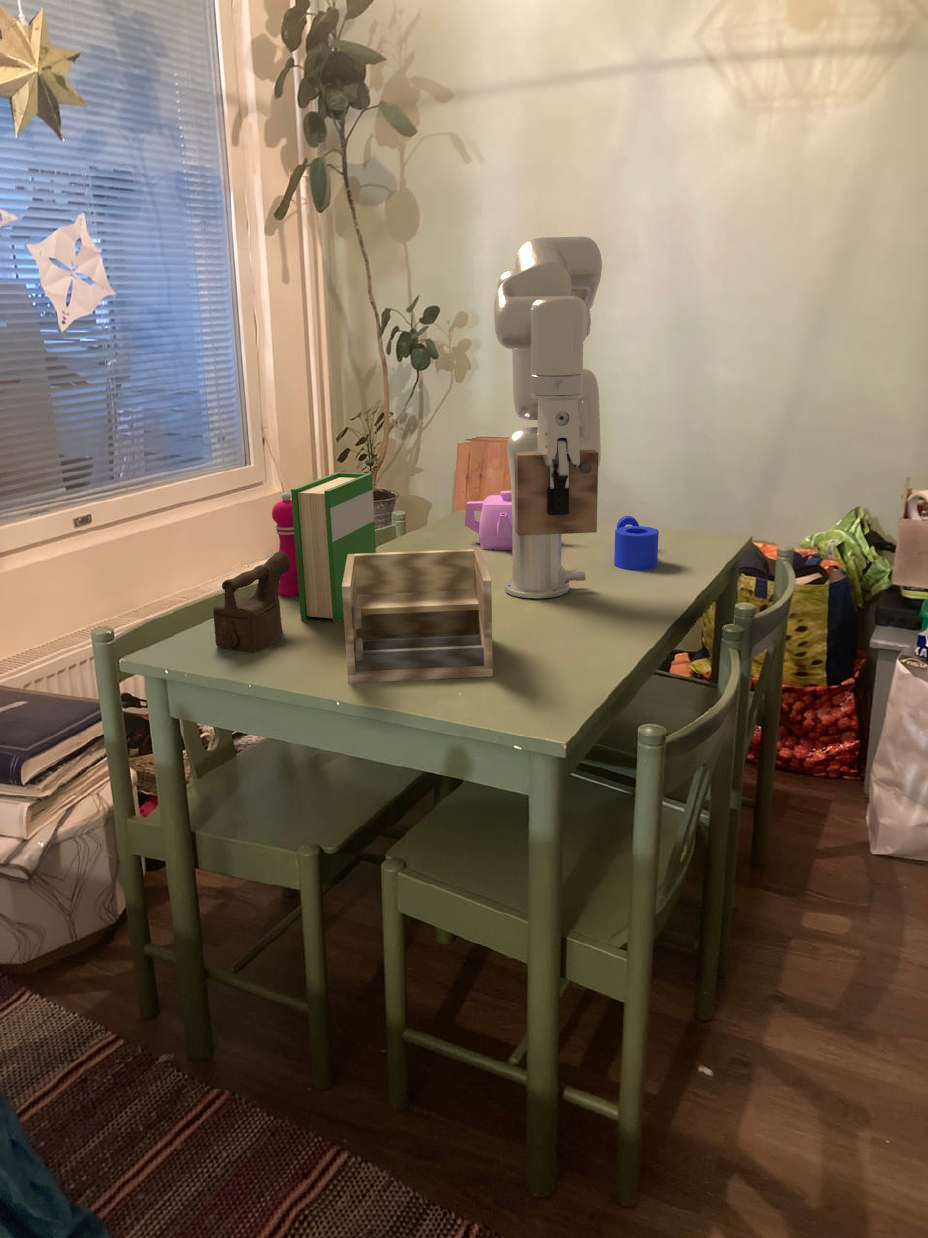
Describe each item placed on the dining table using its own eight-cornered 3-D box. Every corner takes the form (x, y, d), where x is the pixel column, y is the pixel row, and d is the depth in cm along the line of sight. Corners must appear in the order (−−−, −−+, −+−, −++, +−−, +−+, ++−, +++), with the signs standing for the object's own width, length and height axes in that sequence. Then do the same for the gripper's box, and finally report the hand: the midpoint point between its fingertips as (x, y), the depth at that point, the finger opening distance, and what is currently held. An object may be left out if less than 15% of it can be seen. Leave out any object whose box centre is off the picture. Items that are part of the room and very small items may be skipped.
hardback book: (337, 623, 175) (329, 491, 168) (301, 620, 178) (290, 489, 170) (378, 595, 191) (371, 473, 184) (344, 593, 194) (336, 472, 186)
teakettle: (511, 531, 241) (510, 481, 237) (558, 543, 228) (559, 491, 224) (456, 543, 231) (455, 491, 227) (503, 556, 218) (502, 501, 215)
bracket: (660, 571, 204) (661, 535, 202) (616, 571, 205) (617, 536, 202) (646, 548, 223) (648, 515, 221) (606, 548, 223) (607, 515, 221)
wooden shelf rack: (481, 635, 168) (480, 548, 163) (492, 676, 149) (491, 580, 145) (353, 640, 166) (347, 554, 162) (347, 682, 148) (341, 586, 143)
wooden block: (592, 527, 151) (594, 449, 147) (598, 534, 147) (600, 453, 143) (515, 531, 150) (514, 452, 146) (518, 537, 146) (518, 456, 142)
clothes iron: (307, 626, 174) (301, 553, 170) (251, 655, 161) (244, 576, 157) (270, 621, 178) (264, 549, 174) (213, 648, 164) (205, 571, 160)
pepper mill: (277, 587, 198) (268, 489, 192) (313, 585, 199) (306, 488, 193) (273, 597, 192) (264, 496, 185) (310, 595, 192) (303, 495, 186)
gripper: (593, 391, 134) (591, 522, 140) (571, 381, 150) (570, 500, 156) (539, 393, 134) (539, 524, 140) (523, 383, 149) (523, 502, 155)
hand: (555, 510), depth 148 cm, fingers closed on wooden block, 3 cm apart
